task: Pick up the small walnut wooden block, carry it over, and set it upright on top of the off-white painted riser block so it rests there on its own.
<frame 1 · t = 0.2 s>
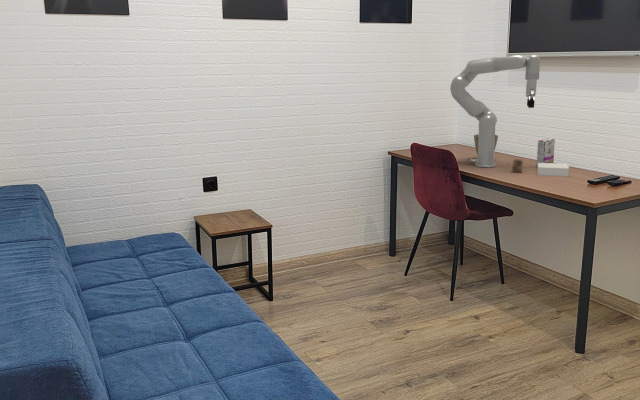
hand: (530, 106, 341), 36 cm above the table, tool pointing down, fingers open, 9 cm apart
candy bar box: (544, 167, 351), on the table
riser block: (552, 174, 332), on the table
walnut block: (517, 172, 338), on the table
plant pot: (484, 160, 377), on the table
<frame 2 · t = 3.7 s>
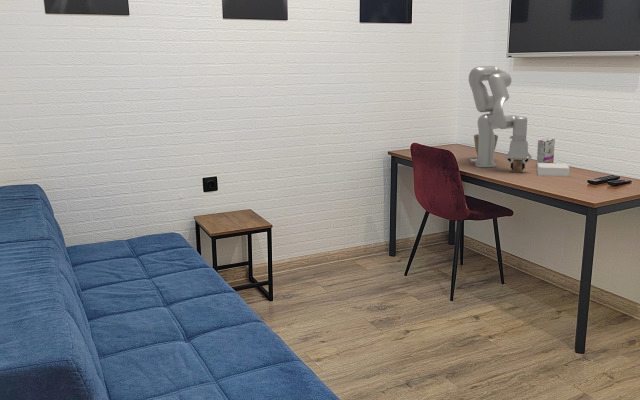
hand: (517, 169, 338), 1 cm above the table, tool pointing down, fingers closed on walnut block, 5 cm apart
walnut block: (517, 171, 338), on the table, touching gripper
everything else where it was.
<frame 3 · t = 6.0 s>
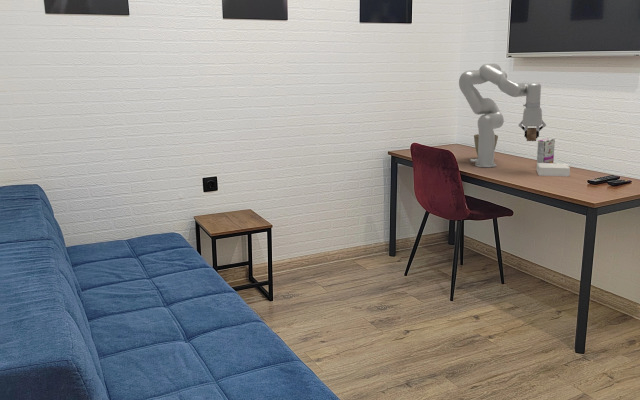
hand: (531, 137, 331), 20 cm above the table, tool pointing down, fingers closed on walnut block, 5 cm apart
walnut block: (531, 140, 331), point 18 cm above the table, touching gripper
everything else where it was.
when the fingers open (8 cm above the table, at t = 8.6 s): walnut block drops 2 cm, resting on riser block.
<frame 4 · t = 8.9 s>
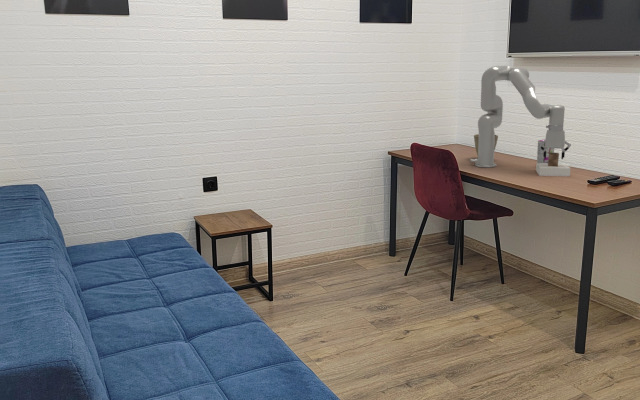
hand: (553, 158, 330), 9 cm above the table, tool pointing down, fingers open, 8 cm apart
riser block: (552, 174, 332), on the table, touching walnut block
walnut block: (552, 165, 330), point 5 cm above the table, touching riser block
everything else where it was.
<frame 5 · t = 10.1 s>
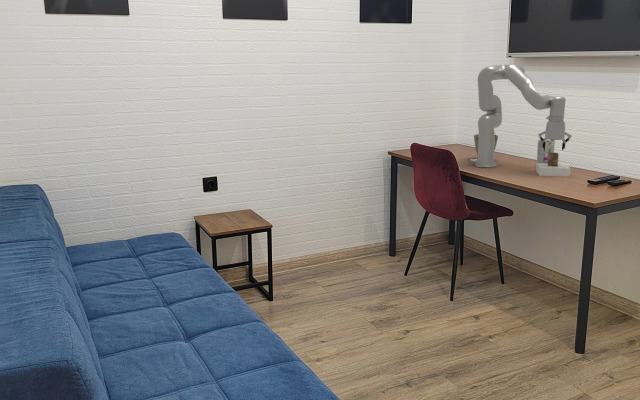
hand: (553, 149, 329), 14 cm above the table, tool pointing down, fingers open, 9 cm apart
nothing on the table moved.
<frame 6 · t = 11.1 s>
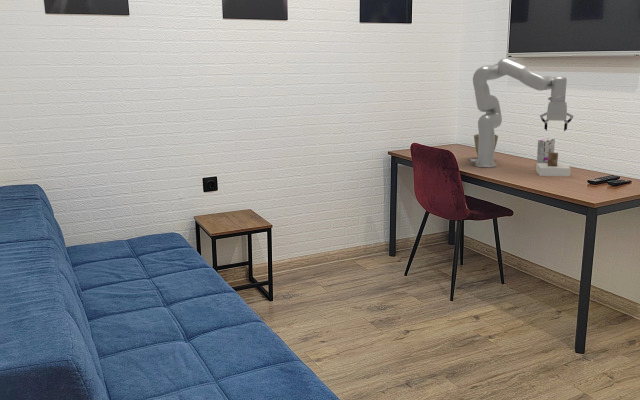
hand: (555, 130, 326), 24 cm above the table, tool pointing down, fingers open, 9 cm apart
riser block: (552, 174, 332), on the table
walnut block: (552, 165, 331), point 5 cm above the table
everything else where it was.
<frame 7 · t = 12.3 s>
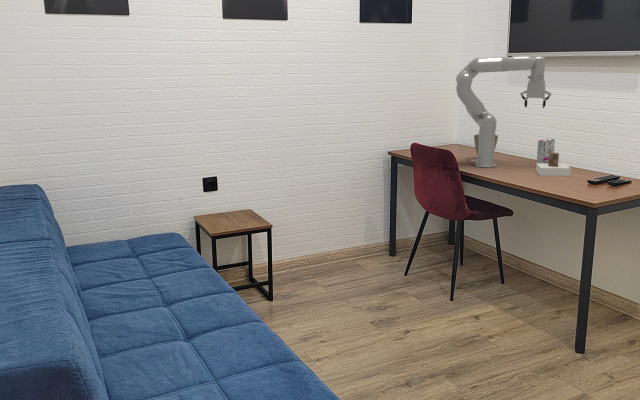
hand: (534, 107, 347), 35 cm above the table, tool pointing down, fingers open, 9 cm apart
riser block: (552, 174, 332), on the table, touching walnut block
walnut block: (553, 165, 330), point 4 cm above the table, touching riser block
everything else where it was.
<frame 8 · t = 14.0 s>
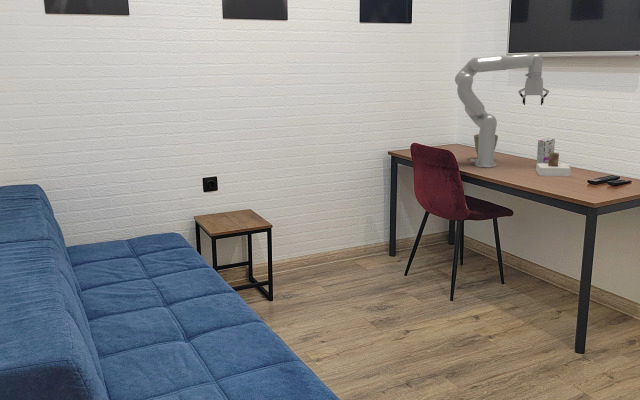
hand: (532, 104, 350), 36 cm above the table, tool pointing down, fingers open, 9 cm apart
riser block: (552, 174, 331), on the table
walnut block: (553, 165, 330), point 5 cm above the table
everything else where it was.
at the end: walnut block inside the target area on the riser block (0.1 cm from its centre), point 5.1 cm above the riser block's base; walnut block tilted 1°; the gripper is holding nothing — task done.
